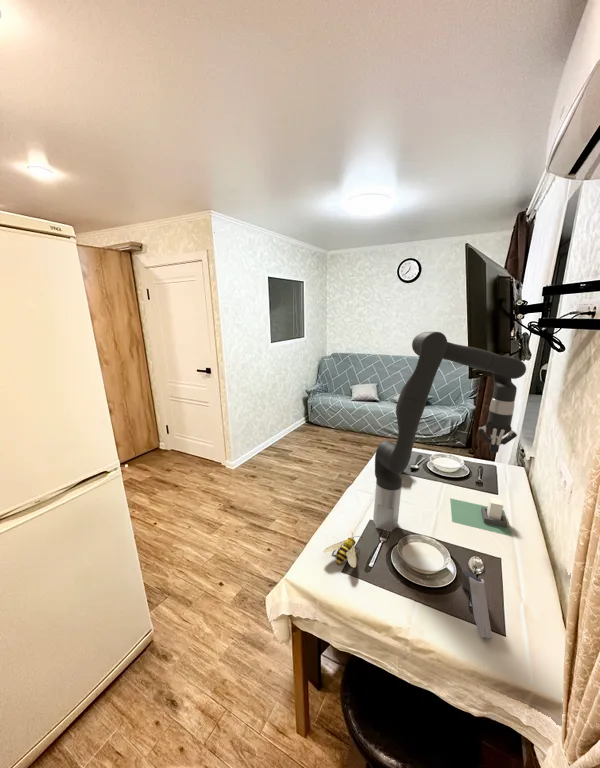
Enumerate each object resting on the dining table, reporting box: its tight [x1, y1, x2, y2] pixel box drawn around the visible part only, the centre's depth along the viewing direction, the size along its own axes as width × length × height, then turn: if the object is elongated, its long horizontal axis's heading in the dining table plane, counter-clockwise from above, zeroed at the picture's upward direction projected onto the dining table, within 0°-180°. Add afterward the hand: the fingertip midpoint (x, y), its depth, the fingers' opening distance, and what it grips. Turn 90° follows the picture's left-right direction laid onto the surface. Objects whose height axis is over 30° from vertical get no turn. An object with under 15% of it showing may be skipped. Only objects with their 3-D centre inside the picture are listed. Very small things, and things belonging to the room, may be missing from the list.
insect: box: [323, 533, 364, 569], centre depth 106 cm, size 11×15×5 cm
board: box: [449, 498, 513, 537], centre depth 124 cm, size 16×20×3 cm
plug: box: [486, 496, 504, 520], centre depth 122 cm, size 5×4×8 cm
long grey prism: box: [460, 570, 493, 640], centre depth 87 cm, size 4×15×12 cm
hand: (493, 452), depth 121 cm, fingers closed
